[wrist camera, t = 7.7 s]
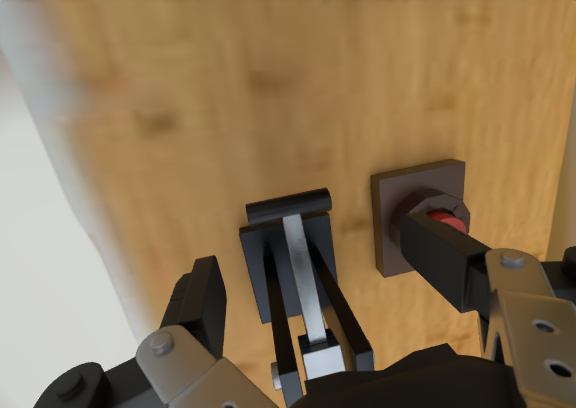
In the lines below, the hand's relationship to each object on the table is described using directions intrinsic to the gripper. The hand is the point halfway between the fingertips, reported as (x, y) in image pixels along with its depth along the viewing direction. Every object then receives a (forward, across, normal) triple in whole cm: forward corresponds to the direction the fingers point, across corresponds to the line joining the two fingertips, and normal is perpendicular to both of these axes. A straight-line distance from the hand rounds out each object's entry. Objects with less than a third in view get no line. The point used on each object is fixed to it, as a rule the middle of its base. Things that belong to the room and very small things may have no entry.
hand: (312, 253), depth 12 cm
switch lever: (+5, 0, +5) cm, 7 cm away
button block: (+13, -12, +6) cm, 19 cm away
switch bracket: (+13, 0, +9) cm, 15 cm away
